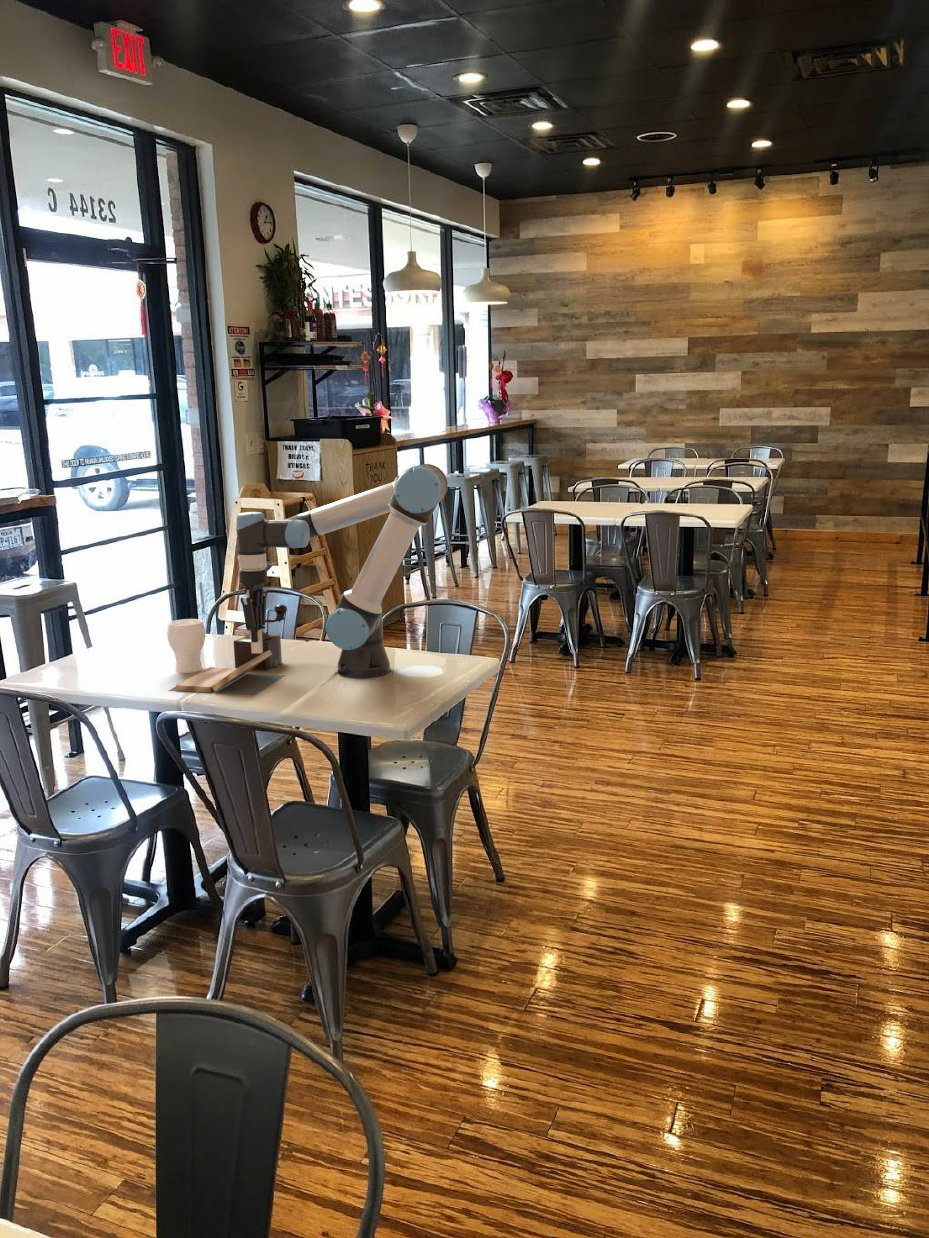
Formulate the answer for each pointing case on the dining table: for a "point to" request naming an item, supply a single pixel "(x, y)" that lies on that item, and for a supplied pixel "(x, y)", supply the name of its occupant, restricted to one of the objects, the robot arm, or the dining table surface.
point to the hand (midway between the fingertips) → (257, 652)
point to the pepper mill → (269, 643)
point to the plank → (241, 670)
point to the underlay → (245, 684)
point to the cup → (187, 643)
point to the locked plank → (204, 680)
